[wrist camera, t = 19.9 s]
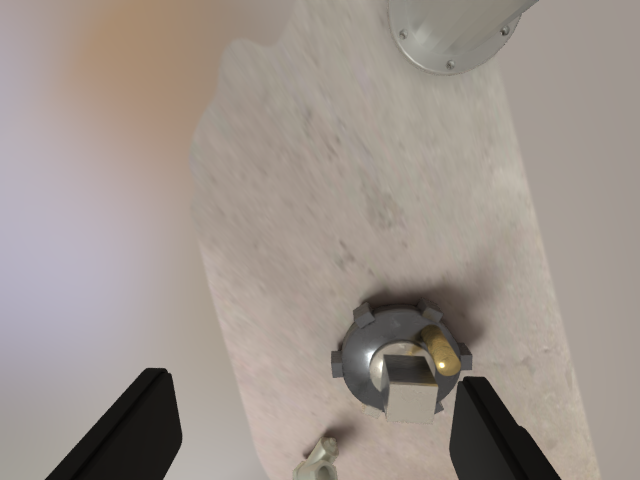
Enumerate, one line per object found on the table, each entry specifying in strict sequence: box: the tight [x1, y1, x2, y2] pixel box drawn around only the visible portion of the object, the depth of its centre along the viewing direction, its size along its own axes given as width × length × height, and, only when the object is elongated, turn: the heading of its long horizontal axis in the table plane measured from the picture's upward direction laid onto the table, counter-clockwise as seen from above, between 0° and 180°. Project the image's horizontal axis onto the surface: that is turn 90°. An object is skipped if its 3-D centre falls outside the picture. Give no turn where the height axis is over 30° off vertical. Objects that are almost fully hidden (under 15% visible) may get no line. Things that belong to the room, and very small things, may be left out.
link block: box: [380, 354, 438, 424], centre depth 34 cm, size 5×5×5 cm
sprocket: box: [331, 297, 472, 419], centre depth 36 cm, size 16×18×8 cm
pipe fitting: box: [293, 437, 339, 480], centre depth 44 cm, size 8×4×7 cm
